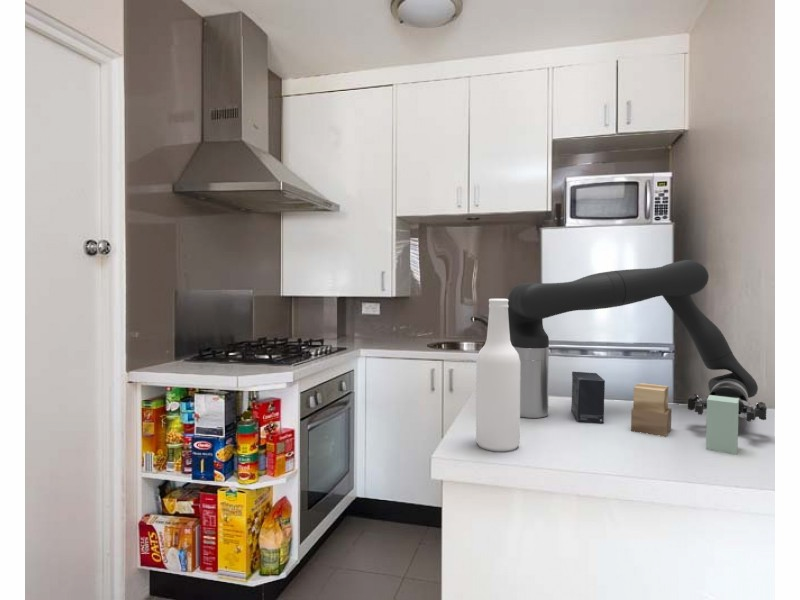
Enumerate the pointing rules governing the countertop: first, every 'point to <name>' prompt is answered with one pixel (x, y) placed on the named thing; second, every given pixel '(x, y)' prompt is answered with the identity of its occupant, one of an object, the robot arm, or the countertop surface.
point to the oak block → (650, 398)
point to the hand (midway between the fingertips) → (723, 413)
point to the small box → (588, 397)
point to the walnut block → (651, 422)
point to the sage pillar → (722, 424)
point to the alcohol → (498, 384)
